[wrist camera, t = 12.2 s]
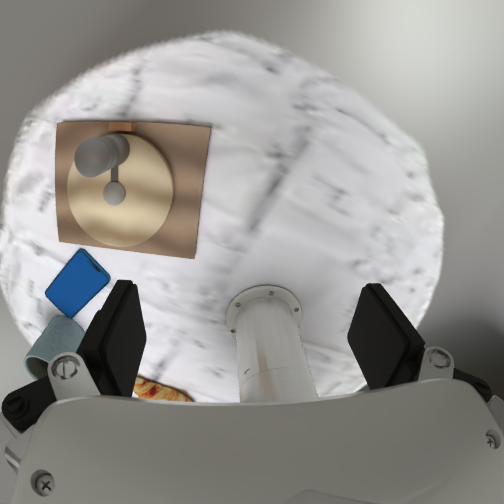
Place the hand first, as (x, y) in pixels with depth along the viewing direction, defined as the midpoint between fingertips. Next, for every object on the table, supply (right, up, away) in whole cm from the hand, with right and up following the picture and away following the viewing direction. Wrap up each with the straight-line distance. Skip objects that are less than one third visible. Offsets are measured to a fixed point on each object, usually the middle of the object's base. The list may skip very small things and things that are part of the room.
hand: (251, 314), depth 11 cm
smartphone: (-30, -3, +31) cm, 44 cm away
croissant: (-18, -30, +45) cm, 57 cm away
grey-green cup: (-36, -14, +35) cm, 52 cm away
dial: (-17, +11, +23) cm, 31 cm away
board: (-17, +11, +24) cm, 32 cm away
